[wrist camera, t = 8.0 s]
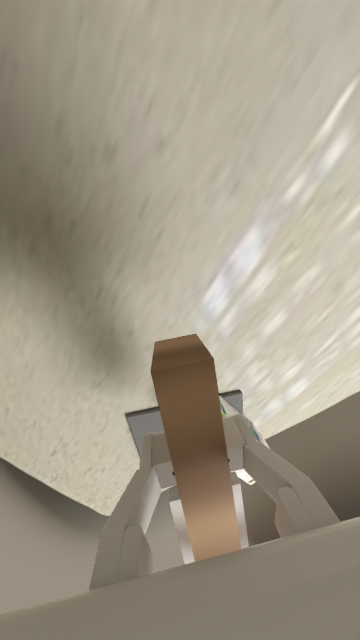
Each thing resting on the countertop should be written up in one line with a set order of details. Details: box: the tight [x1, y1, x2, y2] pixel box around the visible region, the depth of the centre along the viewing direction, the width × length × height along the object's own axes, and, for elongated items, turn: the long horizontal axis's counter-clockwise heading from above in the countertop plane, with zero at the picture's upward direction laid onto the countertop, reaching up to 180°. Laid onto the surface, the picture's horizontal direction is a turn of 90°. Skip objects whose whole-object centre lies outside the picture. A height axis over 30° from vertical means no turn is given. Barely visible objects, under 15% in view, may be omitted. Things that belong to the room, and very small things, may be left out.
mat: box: [127, 391, 243, 457], centre depth 29 cm, size 18×14×1 cm
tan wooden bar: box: [151, 334, 249, 564], centre depth 10 cm, size 18×5×4 cm, turn 9°
